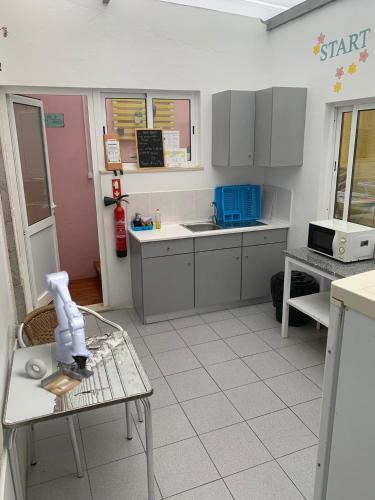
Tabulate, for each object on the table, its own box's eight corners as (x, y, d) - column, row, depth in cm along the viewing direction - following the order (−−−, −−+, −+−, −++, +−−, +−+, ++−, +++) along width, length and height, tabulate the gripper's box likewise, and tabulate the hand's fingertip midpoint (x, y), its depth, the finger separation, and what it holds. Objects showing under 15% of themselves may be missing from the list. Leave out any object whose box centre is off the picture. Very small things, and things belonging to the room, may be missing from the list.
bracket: (78, 374, 176) (76, 363, 174) (84, 370, 179) (83, 359, 177) (87, 378, 173) (86, 366, 171) (93, 374, 176) (92, 362, 174)
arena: (41, 387, 167) (40, 380, 166) (64, 374, 176) (63, 367, 176) (60, 396, 160) (59, 389, 160) (82, 382, 170) (81, 374, 169)
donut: (25, 379, 173) (22, 359, 171) (29, 375, 176) (26, 355, 174) (45, 381, 172) (43, 361, 169) (49, 376, 175) (46, 357, 172)
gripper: (60, 341, 173) (64, 368, 177) (83, 349, 166) (86, 377, 169) (72, 335, 179) (75, 360, 183) (95, 342, 172) (97, 369, 175)
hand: (81, 368), depth 176 cm, fingers closed on bracket
